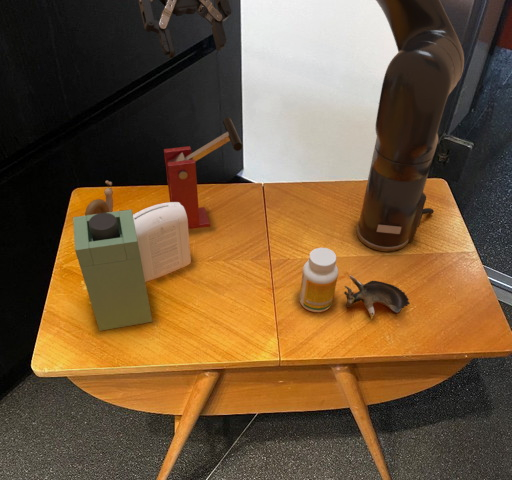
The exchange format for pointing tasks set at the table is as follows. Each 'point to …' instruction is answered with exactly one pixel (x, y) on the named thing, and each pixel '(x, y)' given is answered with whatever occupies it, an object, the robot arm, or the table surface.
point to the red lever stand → (185, 186)
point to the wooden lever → (214, 143)
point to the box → (113, 273)
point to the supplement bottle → (319, 280)
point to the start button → (104, 227)
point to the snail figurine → (101, 203)
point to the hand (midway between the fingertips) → (196, 52)
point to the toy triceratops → (377, 295)
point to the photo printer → (162, 239)
